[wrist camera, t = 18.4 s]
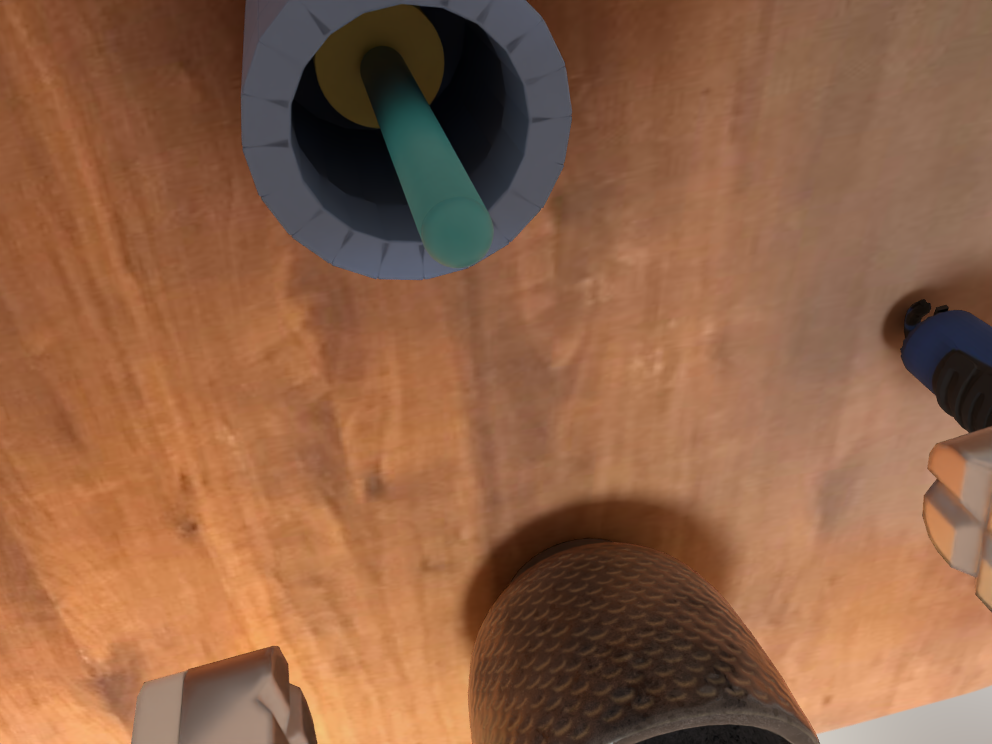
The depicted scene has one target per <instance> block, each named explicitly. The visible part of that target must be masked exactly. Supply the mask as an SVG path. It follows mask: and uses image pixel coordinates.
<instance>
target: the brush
mask: <svg viewBox="0 0 992 744" xmlns="http://www.w3.org/2000/svg"><path fill="white" fill-rule="evenodd" d="M312 58H313V63H314V67H315V72H316V76H317V80H318V83H319V86H320V89H321V91H322V92H323V94H324V96H325V98H326V99H327V101H328V102H329V103H330V105H331V106H332V107H333V108H334V109H335V110H336V111H337V112H338V113H340V114H341V115H342V116H343V117H345V118H347V119H348V120H350V121H352V122H354V123H356V124H359V125H362V126H365V127H370V128H380V129H381V132H382V134H383V137H384V140H385V143H386V145H387V148H388V151H389V153H390V156H391V159H392V161H393V164H394V167H395V170H396V172H397V175H398V178H399V180H400V183H401V186H402V189H403V191H404V194H405V197H406V199H407V202H408V205H409V207H410V210H411V213H412V216H413V218H414V221H415V224H416V226H417V229H418V232H419V234H420V237H421V240H422V243H423V245H424V247H425V249H426V251H427V252H428V254H429V255H430V256H431V257H432V258H433V259H434V260H435V261H437V262H438V263H440V264H442V265H444V266H447V267H451V268H464V267H468V266H471V265H473V264H475V263H476V262H478V261H479V260H481V259H482V258H483V257H484V256H485V255H486V253H487V252H488V250H489V249H490V247H491V244H492V241H493V234H494V229H493V223H492V219H491V217H490V214H489V212H488V211H487V209H486V207H485V205H484V203H483V202H482V200H481V198H480V196H479V194H478V193H477V191H476V189H475V187H474V185H473V184H472V182H471V180H470V178H469V176H468V175H467V173H466V171H465V169H464V167H463V166H462V164H461V162H460V160H459V158H458V156H457V155H456V153H455V151H454V149H453V147H452V146H451V144H450V142H449V140H448V138H447V137H446V135H445V133H444V131H443V129H442V128H441V126H440V124H439V122H438V120H437V119H436V117H435V115H434V113H433V111H432V110H431V108H430V106H429V105H430V104H431V103H432V101H433V100H434V98H435V97H436V95H437V93H438V91H439V88H440V86H441V83H442V79H443V74H444V52H443V47H442V43H441V40H440V37H439V35H438V33H437V31H436V29H435V27H434V26H433V24H432V23H431V21H430V20H429V19H428V17H427V16H426V15H425V14H424V12H423V11H422V10H421V8H420V7H419V6H416V5H406V4H400V5H396V6H392V7H388V8H384V9H380V10H376V11H372V12H367V13H363V14H362V15H360V16H359V17H357V18H356V19H354V20H353V21H351V22H349V23H348V24H346V25H345V26H343V27H342V28H340V29H339V30H337V31H335V32H334V33H332V34H331V35H330V36H329V37H328V38H327V39H326V41H325V42H324V43H323V45H322V46H321V47H320V48H319V50H318V51H317V52H316V53H315V55H314V56H313V57H312Z"/></svg>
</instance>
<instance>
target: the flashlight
mask: <svg viewBox="0 0 992 744" xmlns="http://www.w3.org/2000/svg"><path fill="white" fill-rule="evenodd" d="M948 308H949V307H948V306H947V305H944V306H940V307H936V309H935V312H934V315H933V316H930V317H928V318H927V319H926V320H924V321H923V322H921V319H922V317H923V316H925V315H926V314H928V313H929V312H930V310H931V304H930V303H927V302H926V300H925V299H923V300H920V301H918V302H916V303H915V304H913V305H912V306H911V307H910V308H909V309H908V311H907V314H906V317H905V323H904V334H905V340H904V341H903V346H902V348H901V349H900V350H901V358H902V361H903V363H904V365H905V367H906V369H907V370H908V371H909V372H910V373H911V374H913V375H914V376H915V377H916V378H917V379H918V380H919V381H920V382H921V383H922V384H924V385H925V386H926V387H927V388H928V389H929V390H930V391H931V392H932V393H933V394H935V395H936V398H937V402H938V404H939V406H940V407H941V408H942V409H943V410H944V411H945V412H946V413H947V414H949V415H950V416H952V417H954V419H955V420H956V421H957V422H958V423H959V424H960V426H961V427H962V428H964V429H965V430H967V431H968V432H969V433H972V432H975V431H978V430H981V429H984V428H987V427H990V426H992V327H991V326H990V325H988V324H986V323H985V322H983V321H982V320H980V319H979V318H977V317H976V316H974V315H972V314H971V313H969V312H966V311H962V310H951V311H948Z"/></svg>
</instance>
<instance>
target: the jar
mask: <svg viewBox="0 0 992 744" xmlns="http://www.w3.org/2000/svg"><path fill="white" fill-rule="evenodd" d="M400 4H406V5H416V6H419V7H420V8H421V10H422V11H423V12H424V14H425V15H426V16H427V17H428V19H429V20H430V21H431V23H432V24H433V26H434V27H435V29H436V31H437V33H438V35H439V37H440V40H441V43H442V47H443V52H444V74H443V79H442V83H441V86H440V88H439V91H438V93H437V95H436V97H435V98H434V100H433V101H432V103H431V104H430V105H429V106H430V108H431V110H432V111H433V113H434V115H435V117H436V119H437V120H438V122H439V124H440V126H441V128H442V129H443V131H444V133H445V135H446V137H447V138H448V140H449V142H450V144H451V146H452V147H453V149H454V151H455V153H456V155H457V156H458V158H459V160H460V162H461V164H462V166H463V167H464V169H465V171H466V173H467V175H468V176H469V178H470V180H471V182H472V184H473V185H474V187H475V189H476V191H477V193H478V194H479V196H480V198H481V200H482V202H483V203H484V205H485V207H486V209H487V211H488V212H489V214H490V217H491V219H492V223H493V229H494V234H493V241H492V244H491V247H490V249H489V250H488V252H487V253H486V255H485V256H484V257H483V258H482V259H481V260H479V261H478V262H480V261H482V260H483V259H485V258H486V257H488V256H490V255H491V254H493V253H495V252H496V251H498V250H500V249H501V248H503V247H505V246H506V245H508V244H509V242H511V241H512V240H513V239H514V238H515V237H516V236H517V235H518V234H519V233H520V232H521V231H522V230H523V228H524V227H525V226H526V225H527V224H528V223H529V222H530V221H531V220H532V219H533V218H534V217H535V216H536V214H537V213H538V212H539V211H540V210H541V208H543V207H544V205H545V203H546V201H547V199H548V197H549V195H550V193H551V191H552V189H553V187H554V185H555V183H556V181H557V179H558V177H559V175H560V173H561V171H562V169H563V167H564V165H563V164H564V162H565V156H566V151H567V145H568V139H569V133H570V127H571V121H572V116H571V115H572V108H571V101H570V93H569V86H568V79H567V71H566V67H565V62H564V60H563V58H562V56H561V54H560V52H559V50H558V48H557V46H556V43H555V41H554V39H553V37H552V35H551V33H550V31H549V29H548V27H547V25H546V23H545V21H544V19H542V16H541V15H540V14H539V13H538V12H537V11H536V10H535V9H534V8H533V7H532V6H531V5H530V4H529V3H528V2H527V1H526V0H246V6H245V25H244V45H243V64H242V84H241V131H242V146H243V152H244V155H245V158H246V161H247V164H248V166H249V169H250V172H251V175H252V177H253V180H254V183H255V186H256V189H257V191H258V194H259V196H261V199H262V200H263V202H264V203H265V204H266V206H267V207H268V208H269V209H270V211H271V212H272V213H273V215H274V216H275V217H276V218H277V220H278V221H279V222H280V224H281V225H282V226H283V228H284V229H285V230H286V231H287V233H288V234H289V235H292V238H293V239H295V240H296V241H298V242H299V243H301V244H302V245H303V246H305V247H306V248H308V249H309V250H311V251H312V252H314V253H315V254H316V255H318V256H319V257H321V258H322V259H324V260H325V261H327V262H328V263H332V265H333V266H336V267H339V268H343V269H346V270H349V271H352V272H355V273H358V274H361V275H365V276H368V277H371V278H374V279H377V278H378V279H399V280H423V279H430V278H434V277H437V276H441V275H445V274H448V273H452V272H456V271H459V270H463V269H467V268H469V266H468V267H464V268H451V267H447V266H444V265H442V264H440V263H438V262H437V261H435V260H434V259H433V258H432V257H431V256H430V255H429V254H428V252H427V251H426V249H425V247H424V245H423V243H422V240H421V237H420V234H419V232H418V229H417V226H416V224H415V221H414V218H413V216H412V213H411V210H410V207H409V205H408V202H407V199H406V197H405V194H404V191H403V189H402V186H401V183H400V180H399V178H398V175H397V172H396V170H395V167H394V164H393V161H392V159H391V156H390V153H389V151H388V148H387V145H386V143H385V140H384V137H383V134H382V132H381V129H380V128H370V127H365V126H362V125H359V124H356V123H354V122H352V121H350V120H348V119H347V118H345V117H343V116H342V115H341V114H340V113H338V112H337V111H336V110H335V109H334V108H333V107H332V106H331V105H330V103H329V102H328V101H327V99H326V98H325V96H324V94H323V92H322V91H321V89H320V86H319V83H318V80H317V76H316V72H315V67H314V63H313V58H312V57H313V56H314V55H315V53H316V52H317V51H318V50H319V48H320V47H321V46H322V45H323V43H324V42H325V41H326V39H327V38H328V37H329V36H330V35H331V34H332V33H334V32H335V31H337V30H339V29H340V28H342V27H343V26H345V25H346V24H348V23H349V22H351V21H353V20H354V19H356V18H357V17H359V16H360V15H362V14H363V13H367V12H372V11H376V10H380V9H384V8H388V7H392V6H396V5H400ZM478 262H476V263H475V264H477V263H478ZM475 264H473V265H475ZM473 265H471V266H473ZM471 266H470V267H471Z"/></svg>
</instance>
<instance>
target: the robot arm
mask: <svg viewBox="0 0 992 744" xmlns="http://www.w3.org/2000/svg"><path fill="white" fill-rule="evenodd" d="M927 469H928V470H929V471H930V472H931V473H932V474H933V475H934V476H935V477H936V478H937V479H936V481H935V482H934V483H933V484H932V486H931V487H930V488H929V490H928V491H927V492H926V494H925V495H924V502H923V515H922V516H923V519H924V523H925V526H926V529H927V533H928V536H929V538H930V540H931V541H932V543H933V545H934V546H935V548H936V550H937V551H938V553H939V554H940V555H941V556H942V557H943V559H944V560H945V561H946V562H947V563H948V564H949V565H950V567H951V568H954V569H956V570H959V571H961V572H964V573H966V574H969V575H971V576H974V577H975V594H976V596H977V597H978V598H979V599H980V600H981V601H982V602H983V603H984V604H985V605H986V607H987V608H988V609H989V610H990V611H991V612H992V426H990V427H987V428H984V429H981V430H978V431H975V432H972V433H968V434H965V435H962V436H959V437H956V438H953V439H949V440H946V441H943V442H940V443H937V444H936V445H935V446H934V448H933V449H932V450H931V452H930V454H929V461H928V468H927ZM131 744H317V740H316V734H315V729H314V724H313V719H312V716H311V713H310V710H309V707H308V704H307V701H306V699H305V697H304V695H303V693H302V691H301V689H300V688H299V687H297V686H295V685H292V684H290V683H289V671H288V663H287V661H286V659H285V657H284V656H283V654H282V652H281V650H280V648H279V647H278V646H271V647H267V648H264V649H260V650H257V651H253V652H249V653H246V654H242V655H239V656H235V657H231V658H228V659H224V660H220V661H217V662H213V663H210V664H206V665H202V666H199V667H195V668H192V669H188V670H187V671H183V672H180V673H176V674H172V675H169V676H165V677H162V678H158V679H155V680H151V681H148V682H144V684H143V686H142V688H141V690H140V692H139V694H138V696H137V703H136V710H135V718H134V726H133V733H132V741H131Z"/></svg>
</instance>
